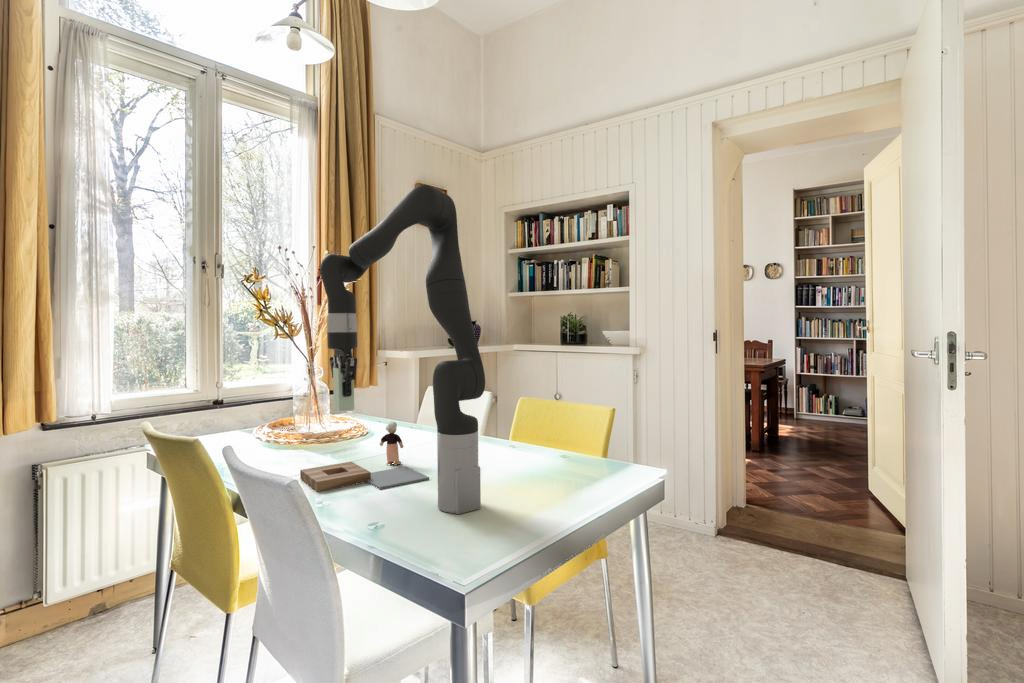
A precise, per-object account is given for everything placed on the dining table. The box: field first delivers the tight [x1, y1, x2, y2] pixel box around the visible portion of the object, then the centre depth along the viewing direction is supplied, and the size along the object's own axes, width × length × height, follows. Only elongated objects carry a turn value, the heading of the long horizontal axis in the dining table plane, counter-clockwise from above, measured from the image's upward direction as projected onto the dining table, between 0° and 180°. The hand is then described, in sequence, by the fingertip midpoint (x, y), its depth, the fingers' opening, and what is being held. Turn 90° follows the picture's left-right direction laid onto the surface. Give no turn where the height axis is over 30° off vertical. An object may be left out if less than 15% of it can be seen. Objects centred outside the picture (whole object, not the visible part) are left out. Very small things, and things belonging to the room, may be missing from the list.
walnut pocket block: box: [299, 461, 372, 493], centre depth 141 cm, size 14×14×2 cm
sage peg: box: [332, 368, 355, 412], centre depth 141 cm, size 4×4×11 cm
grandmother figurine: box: [379, 421, 404, 466], centre depth 158 cm, size 8×4×13 cm, turn 84°
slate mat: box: [366, 465, 430, 490], centre depth 143 cm, size 14×14×1 cm
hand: (343, 395), depth 141 cm, fingers closed on sage peg, 4 cm apart
